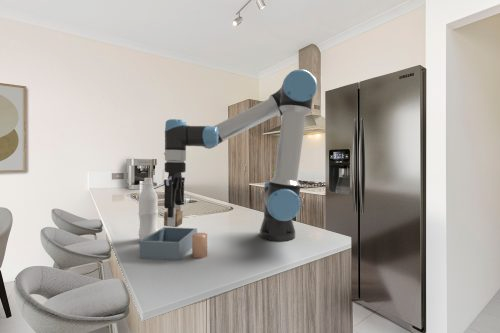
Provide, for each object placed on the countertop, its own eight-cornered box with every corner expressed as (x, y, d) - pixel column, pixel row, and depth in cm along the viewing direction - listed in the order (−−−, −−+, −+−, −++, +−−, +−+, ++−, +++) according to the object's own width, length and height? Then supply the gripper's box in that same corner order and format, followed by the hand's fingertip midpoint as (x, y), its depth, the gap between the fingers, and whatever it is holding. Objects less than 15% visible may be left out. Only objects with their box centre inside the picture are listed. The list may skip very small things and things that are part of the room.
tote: (197, 242, 98) (197, 228, 98) (179, 260, 81) (179, 243, 81) (163, 240, 100) (163, 227, 100) (139, 257, 83) (139, 241, 82)
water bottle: (151, 243, 96) (151, 178, 96) (134, 242, 98) (134, 178, 97) (161, 238, 103) (161, 177, 103) (145, 237, 105) (145, 177, 104)
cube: (182, 223, 97) (182, 210, 96) (176, 226, 92) (177, 213, 91) (169, 222, 97) (170, 209, 97) (163, 226, 92) (164, 212, 92)
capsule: (208, 253, 87) (209, 233, 87) (204, 258, 82) (204, 237, 82) (195, 252, 88) (195, 232, 88) (190, 257, 83) (190, 236, 83)
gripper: (175, 161, 103) (174, 218, 104) (153, 161, 85) (153, 230, 86) (193, 161, 102) (192, 218, 103) (175, 162, 84) (174, 231, 85)
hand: (174, 223), depth 94 cm, fingers closed on cube, 5 cm apart
